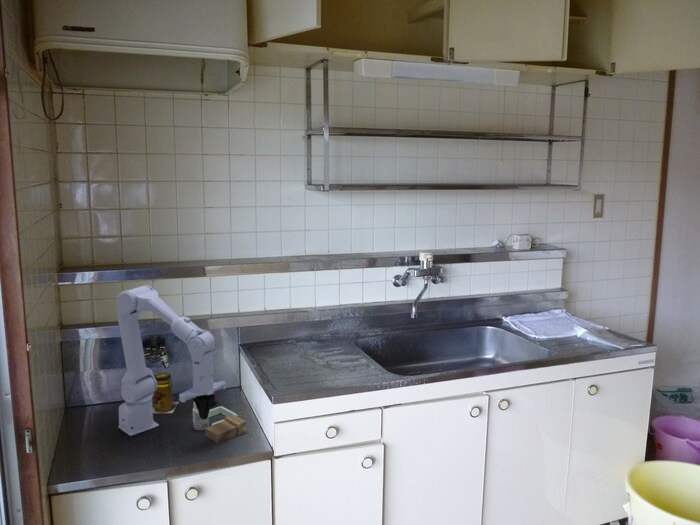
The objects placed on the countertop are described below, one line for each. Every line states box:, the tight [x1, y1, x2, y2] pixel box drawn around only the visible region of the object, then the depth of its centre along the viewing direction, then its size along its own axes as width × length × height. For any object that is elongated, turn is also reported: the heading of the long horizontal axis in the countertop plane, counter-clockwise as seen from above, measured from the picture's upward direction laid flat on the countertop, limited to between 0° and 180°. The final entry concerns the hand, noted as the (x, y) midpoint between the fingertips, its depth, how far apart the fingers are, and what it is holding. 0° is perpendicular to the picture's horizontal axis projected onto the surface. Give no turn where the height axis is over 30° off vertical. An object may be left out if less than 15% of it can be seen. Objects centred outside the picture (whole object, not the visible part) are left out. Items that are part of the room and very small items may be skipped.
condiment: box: [152, 372, 180, 414], centre depth 195 cm, size 7×8×12 cm
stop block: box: [224, 414, 247, 436], centre depth 182 cm, size 3×7×4 cm, turn 47°
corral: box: [208, 405, 240, 426], centre depth 188 cm, size 10×10×2 cm
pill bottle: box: [192, 402, 210, 431], centre depth 183 cm, size 5×5×8 cm
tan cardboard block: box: [204, 421, 238, 444], centre depth 178 cm, size 7×6×3 cm
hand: (203, 417), depth 173 cm, fingers closed
